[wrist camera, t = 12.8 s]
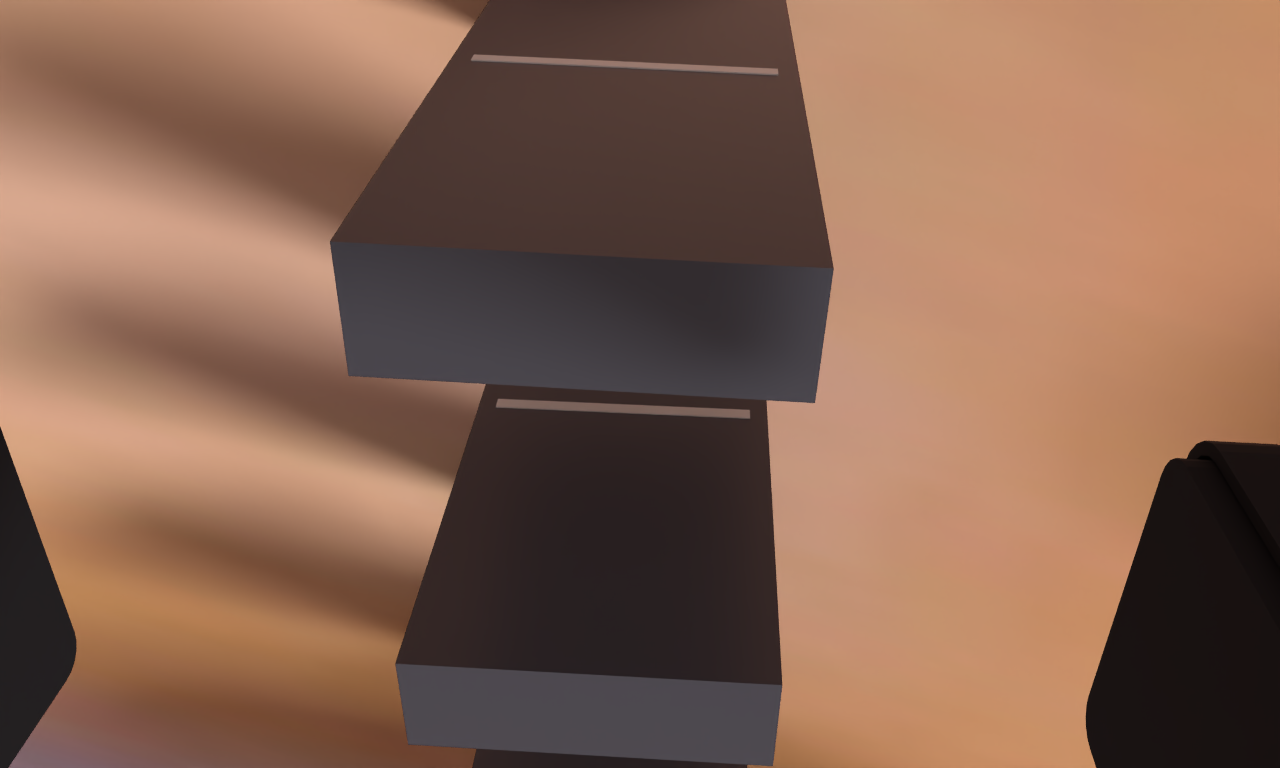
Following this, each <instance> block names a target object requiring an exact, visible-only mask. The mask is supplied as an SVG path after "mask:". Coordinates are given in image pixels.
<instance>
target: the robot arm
mask: <svg viewBox="0 0 1280 768" xmlns="http://www.w3.org/2000/svg"><path fill="white" fill-rule="evenodd" d="M75 655H76V637H75V632H74V629H73V627H72V624H71V621H70V618H69V615H68V613H67V610H66V607H65V604H64V602H63V599H62V596H61V593H60V591H59V588H58V585H57V582H56V580H55V577H54V574H53V571H52V569H51V566H50V563H49V560H48V557H47V555H46V552H45V549H44V546H43V544H42V541H41V538H40V535H39V533H38V530H37V527H36V524H35V522H34V519H33V516H32V513H31V510H30V508H29V505H28V502H27V499H26V497H25V494H24V491H23V488H22V486H21V483H20V480H19V477H18V475H17V472H16V469H15V466H14V464H13V461H12V458H11V455H10V452H9V450H8V447H7V444H6V441H5V439H4V436H3V433H2V430H1V428H0V768H8V767H9V766H10V764H11V763H12V761H13V760H14V758H15V757H16V755H17V754H18V752H19V751H20V749H21V748H22V746H23V745H24V743H25V742H26V740H27V739H28V737H29V736H30V734H31V733H32V731H33V730H34V728H35V727H36V725H37V724H38V722H39V721H40V719H41V718H42V716H43V715H44V713H45V712H46V710H47V709H48V707H49V706H50V704H51V703H52V701H53V700H54V698H55V697H56V695H57V694H58V692H59V691H60V689H61V688H62V686H63V685H64V683H65V682H66V680H67V678H68V677H69V675H70V673H71V670H72V667H73V664H74V661H75ZM1086 730H1087V738H1088V742H1089V746H1090V750H1091V753H1092V756H1093V759H1094V762H1095V765H1096V768H1280V445H1277V444H1258V443H1238V442H1218V441H1203V442H1200V443H1197V444H1196V445H1195V446H1194V448H1193V449H1192V450H1191V451H1190V453H1189V455H1188V457H1187V459H1181V458H1175V459H1172V460H1170V461H1169V462H1168V464H1167V465H1166V466H1165V468H1164V470H1163V473H1162V475H1161V478H1160V481H1159V484H1158V487H1157V490H1156V493H1155V496H1154V499H1153V502H1152V505H1151V508H1150V511H1149V514H1148V517H1147V520H1146V523H1145V526H1144V530H1143V533H1142V536H1141V539H1140V542H1139V545H1138V548H1137V551H1136V554H1135V557H1134V560H1133V563H1132V566H1131V569H1130V572H1129V575H1128V578H1127V581H1126V584H1125V587H1124V590H1123V593H1122V596H1121V600H1120V603H1119V606H1118V609H1117V612H1116V615H1115V618H1114V621H1113V624H1112V627H1111V630H1110V633H1109V636H1108V639H1107V642H1106V645H1105V648H1104V651H1103V654H1102V657H1101V660H1100V663H1099V666H1098V669H1097V673H1096V676H1095V679H1094V682H1093V685H1092V688H1091V691H1090V694H1089V697H1088V702H1087V708H1086Z"/></svg>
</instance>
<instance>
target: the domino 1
mask: <svg viewBox="0 0 1280 768" xmlns="http://www.w3.org/2000/svg"><path fill="white" fill-rule="evenodd" d="M330 245H331V253H332V260H333V267H334V274H335V281H336V289H337V296H338V303H339V310H340V317H341V325H342V332H343V339H344V346H345V353H346V360H347V368H348V375H349V376H360V377H377V378H394V379H412V380H429V381H446V382H463V383H480V384H498V385H515V386H532V387H549V388H566V389H583V390H601V391H618V392H635V393H652V394H669V395H687V396H704V397H721V398H738V399H755V400H773V401H790V402H807V403H815V398H816V391H817V384H818V377H819V370H820V363H821V355H822V348H823V341H824V334H825V327H826V320H827V312H828V305H829V298H830V291H831V284H832V276H833V269H834V268H833V262H832V257H831V251H830V245H829V240H828V234H827V229H826V223H825V217H824V212H823V206H822V201H821V195H820V189H819V184H818V178H817V172H816V167H815V161H814V156H813V150H812V144H811V139H810V133H809V128H808V122H807V116H806V111H805V105H804V99H803V94H802V88H801V83H800V77H799V71H798V66H797V60H796V55H795V49H794V43H793V38H792V32H791V26H790V21H789V15H788V10H787V4H786V0H490V1H489V2H488V4H487V5H486V7H485V8H484V10H483V11H482V13H481V14H480V16H479V17H478V19H477V20H476V22H475V23H474V25H473V26H472V28H471V29H470V31H469V32H468V34H467V35H466V37H465V38H464V40H463V41H462V43H461V44H460V46H459V47H458V49H457V51H456V52H455V54H454V55H453V57H452V58H451V60H450V61H449V63H448V64H447V66H446V67H445V69H444V70H443V72H442V73H441V75H440V76H439V78H438V79H437V81H436V82H435V84H434V85H433V87H432V88H431V90H430V91H429V93H428V94H427V96H426V97H425V99H424V100H423V102H422V103H421V105H420V106H419V108H418V109H417V111H416V112H415V114H414V115H413V117H412V118H411V120H410V121H409V123H408V124H407V126H406V127H405V129H404V130H403V132H402V133H401V135H400V137H399V138H398V140H397V141H396V143H395V144H394V146H393V147H392V149H391V150H390V152H389V153H388V155H387V156H386V158H385V159H384V161H383V162H382V164H381V165H380V167H379V168H378V170H377V171H376V173H375V174H374V176H373V177H372V179H371V180H370V182H369V183H368V185H367V186H366V188H365V189H364V191H363V192H362V194H361V195H360V197H359V198H358V200H357V201H356V203H355V204H354V206H353V207H352V209H351V210H350V212H349V213H348V215H347V216H346V218H345V219H344V221H343V223H342V224H341V226H340V227H339V229H338V230H337V232H336V233H335V235H334V236H333V238H332V239H331V241H330Z"/></svg>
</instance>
